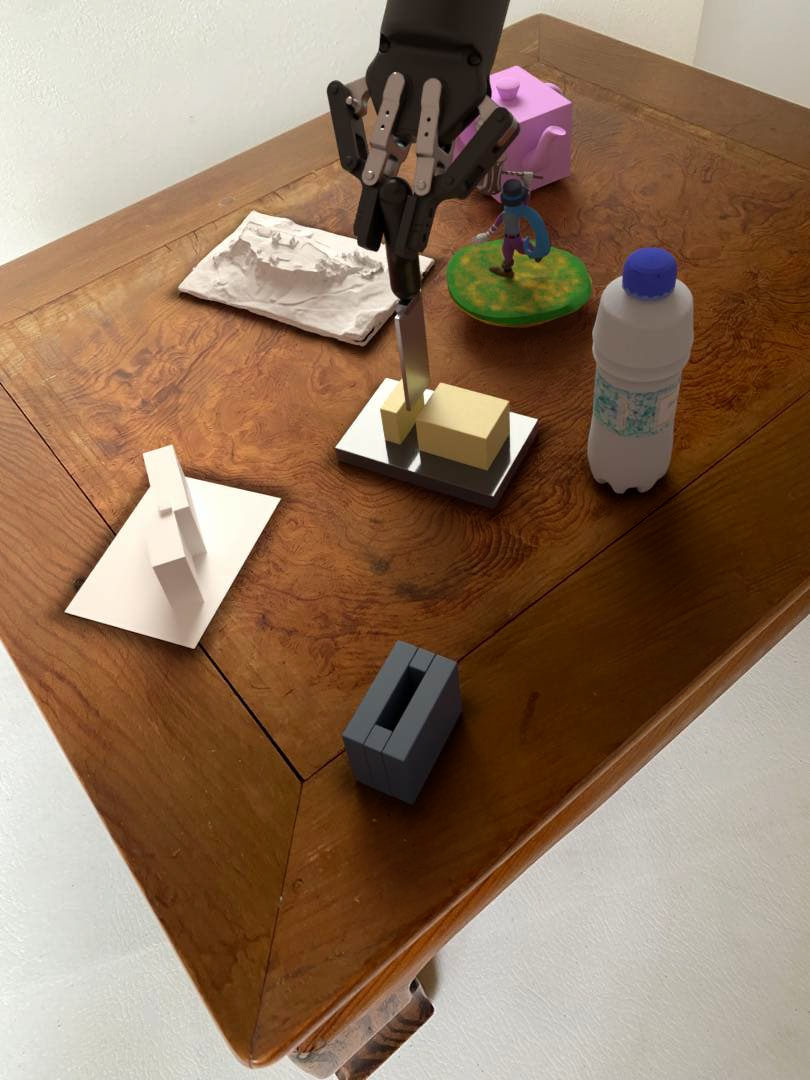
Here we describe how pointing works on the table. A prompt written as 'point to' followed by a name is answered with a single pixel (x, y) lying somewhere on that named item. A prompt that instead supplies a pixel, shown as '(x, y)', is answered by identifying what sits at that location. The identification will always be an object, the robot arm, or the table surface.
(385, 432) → the butter pat
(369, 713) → the knife stand
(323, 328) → the terrain model
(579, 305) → the figurine
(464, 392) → the butter block
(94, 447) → the table surface
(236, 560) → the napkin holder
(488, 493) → the board
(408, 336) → the knife
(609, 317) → the bottle
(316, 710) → the table surface
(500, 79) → the teapot
